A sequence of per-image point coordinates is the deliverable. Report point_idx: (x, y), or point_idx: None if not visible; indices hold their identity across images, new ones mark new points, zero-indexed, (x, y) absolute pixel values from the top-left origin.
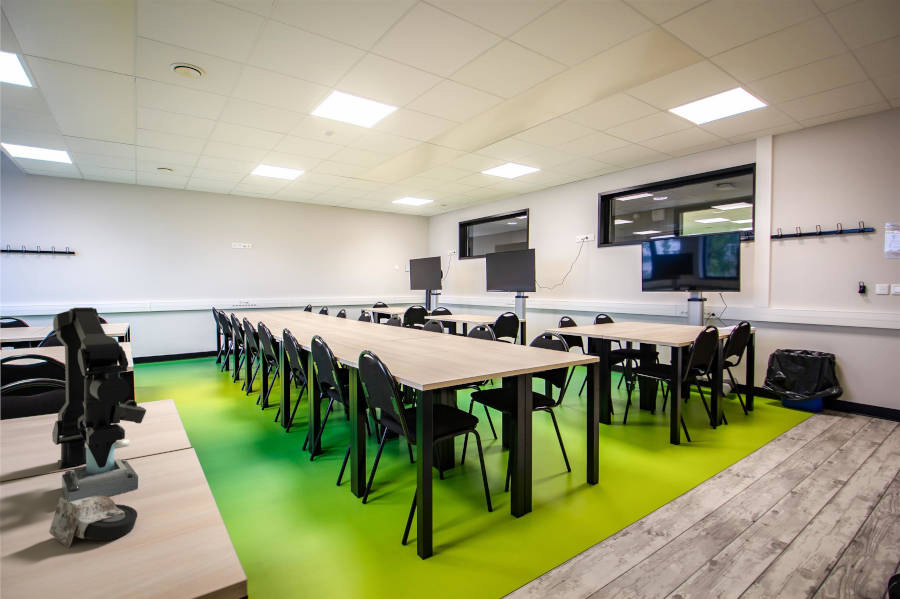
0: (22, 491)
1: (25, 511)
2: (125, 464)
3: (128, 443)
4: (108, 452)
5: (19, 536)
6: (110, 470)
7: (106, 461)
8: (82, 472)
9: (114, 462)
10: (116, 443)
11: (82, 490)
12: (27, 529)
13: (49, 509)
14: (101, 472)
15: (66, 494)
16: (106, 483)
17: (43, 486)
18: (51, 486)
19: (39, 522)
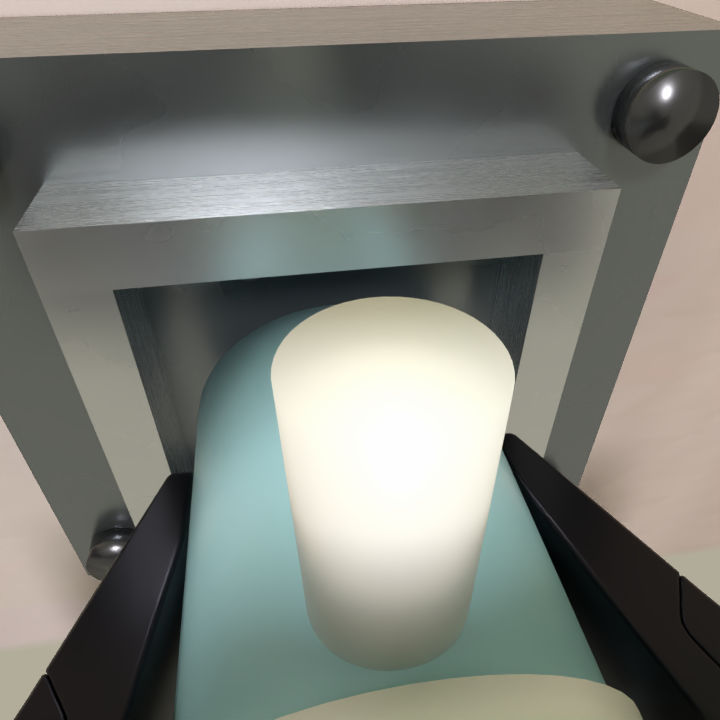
0: (50, 608)
1: None
2: (72, 108)
3: (506, 375)
4: (689, 593)
5: (678, 534)
6: (237, 289)
7: (561, 476)
8: None
9: (120, 284)
10: (462, 610)
11: (586, 451)
12: (636, 525)
13: None
14: None
15: None
16: (632, 331)
17: (10, 554)
18: (39, 524)
19: (605, 504)
